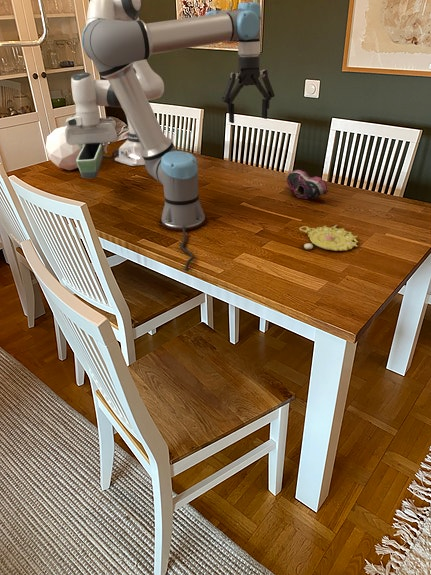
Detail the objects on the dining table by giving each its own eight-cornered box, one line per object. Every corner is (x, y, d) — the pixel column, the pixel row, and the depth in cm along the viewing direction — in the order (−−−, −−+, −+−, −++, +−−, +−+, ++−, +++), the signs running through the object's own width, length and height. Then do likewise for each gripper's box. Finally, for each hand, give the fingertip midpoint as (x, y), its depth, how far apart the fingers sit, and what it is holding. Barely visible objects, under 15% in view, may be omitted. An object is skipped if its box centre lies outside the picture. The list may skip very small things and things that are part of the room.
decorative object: (343, 255, 128) (285, 234, 139) (342, 262, 130) (284, 241, 140) (372, 230, 142) (317, 213, 152) (371, 237, 143) (316, 219, 153)
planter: (98, 178, 164) (95, 159, 160) (79, 180, 163) (75, 160, 160) (105, 157, 187) (103, 140, 183) (88, 158, 187) (85, 141, 183)
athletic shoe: (296, 169, 182) (271, 176, 178) (328, 163, 162) (302, 171, 158) (301, 196, 185) (277, 204, 181) (334, 193, 165) (308, 202, 161)
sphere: (76, 185, 212) (61, 159, 193) (47, 165, 217) (29, 138, 198) (102, 157, 217) (90, 130, 198) (73, 138, 221) (58, 110, 203)
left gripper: (115, 115, 178) (120, 150, 185) (63, 118, 176) (71, 153, 184) (114, 119, 172) (119, 154, 180) (61, 121, 171) (68, 157, 178)
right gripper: (275, 52, 159) (272, 114, 170) (211, 57, 151) (213, 122, 162) (286, 54, 153) (282, 118, 164) (220, 59, 145) (221, 126, 156)
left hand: (94, 153), depth 182 cm, fingers closed on planter, 6 cm apart
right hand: (248, 120), depth 163 cm, fingers open, 13 cm apart
